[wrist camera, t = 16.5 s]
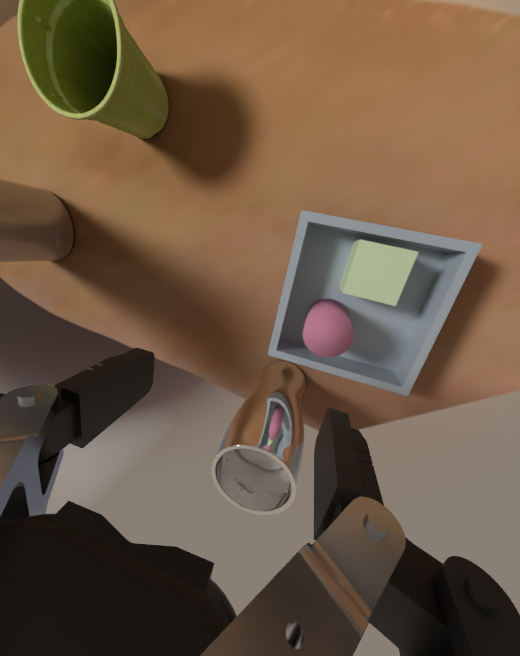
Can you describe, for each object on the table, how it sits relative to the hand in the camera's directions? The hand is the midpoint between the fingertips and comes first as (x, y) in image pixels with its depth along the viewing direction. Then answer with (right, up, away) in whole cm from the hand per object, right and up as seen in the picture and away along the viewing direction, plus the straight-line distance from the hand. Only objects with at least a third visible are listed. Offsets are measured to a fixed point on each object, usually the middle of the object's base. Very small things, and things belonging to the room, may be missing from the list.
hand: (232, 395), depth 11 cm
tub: (+11, +6, +16) cm, 21 cm away
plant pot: (-11, +27, +16) cm, 33 cm away
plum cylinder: (+9, +4, +17) cm, 19 cm away
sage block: (+12, +9, +14) cm, 21 cm away
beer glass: (+4, -4, +21) cm, 22 cm away
